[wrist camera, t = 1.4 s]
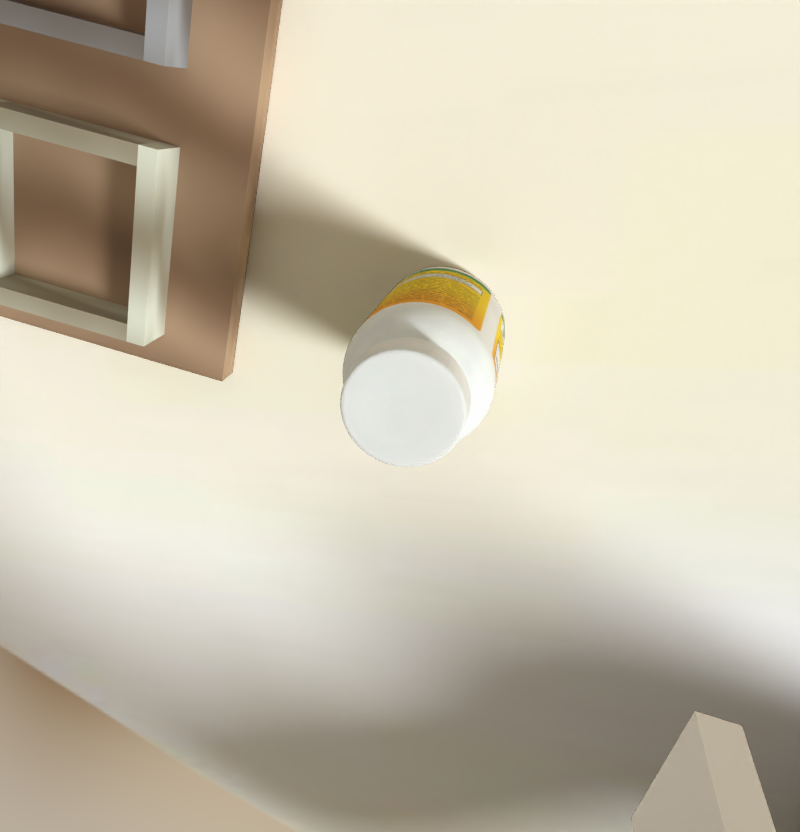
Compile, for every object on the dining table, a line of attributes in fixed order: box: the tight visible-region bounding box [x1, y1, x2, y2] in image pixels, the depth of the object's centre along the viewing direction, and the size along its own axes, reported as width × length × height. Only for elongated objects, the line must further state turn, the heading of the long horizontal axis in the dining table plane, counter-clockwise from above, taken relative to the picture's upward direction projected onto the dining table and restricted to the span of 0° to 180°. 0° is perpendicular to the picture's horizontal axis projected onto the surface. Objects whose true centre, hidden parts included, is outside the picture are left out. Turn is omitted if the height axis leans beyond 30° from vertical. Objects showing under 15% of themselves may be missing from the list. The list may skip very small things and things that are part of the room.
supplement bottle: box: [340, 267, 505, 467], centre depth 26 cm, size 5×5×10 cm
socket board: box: [0, 0, 282, 381], centre depth 28 cm, size 22×14×3 cm, turn 167°
